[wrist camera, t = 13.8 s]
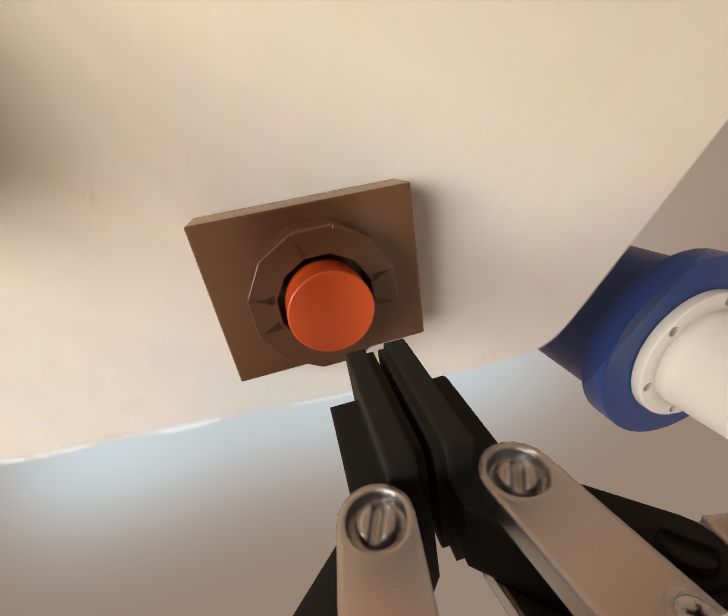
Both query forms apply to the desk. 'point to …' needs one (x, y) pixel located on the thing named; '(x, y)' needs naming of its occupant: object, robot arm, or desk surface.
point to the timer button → (328, 305)
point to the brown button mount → (298, 248)
